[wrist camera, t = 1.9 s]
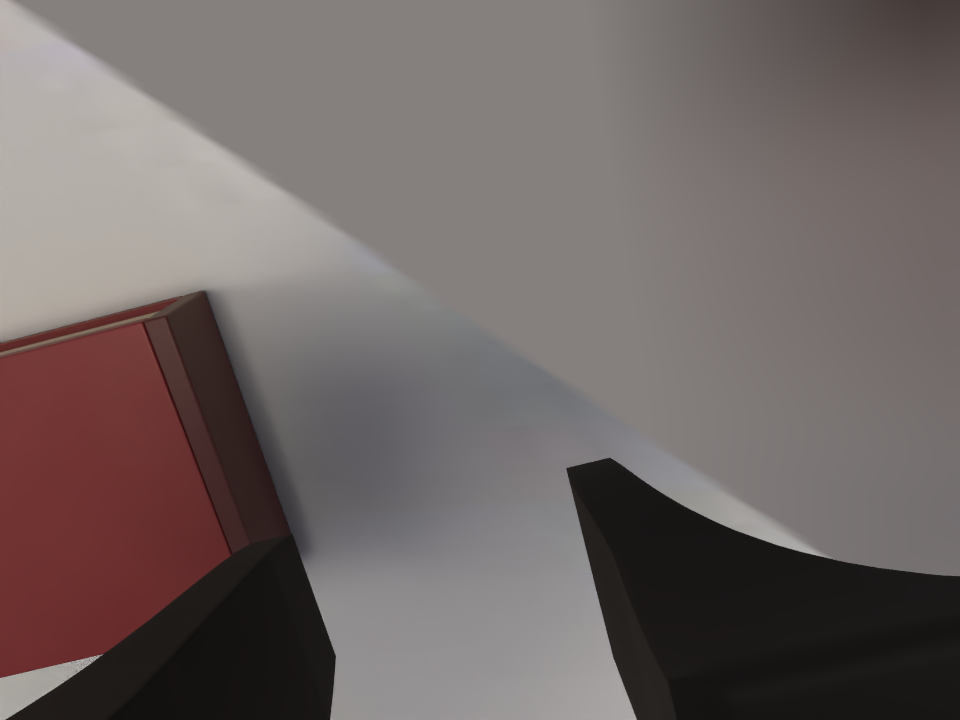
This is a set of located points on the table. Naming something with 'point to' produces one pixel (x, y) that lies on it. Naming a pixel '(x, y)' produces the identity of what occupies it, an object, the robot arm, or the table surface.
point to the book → (119, 477)
